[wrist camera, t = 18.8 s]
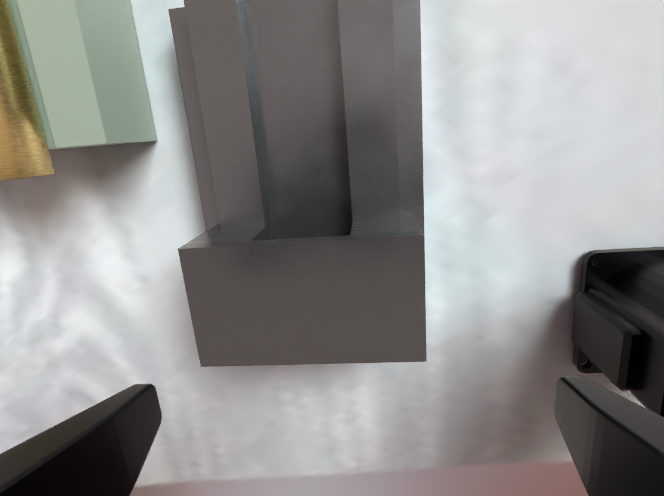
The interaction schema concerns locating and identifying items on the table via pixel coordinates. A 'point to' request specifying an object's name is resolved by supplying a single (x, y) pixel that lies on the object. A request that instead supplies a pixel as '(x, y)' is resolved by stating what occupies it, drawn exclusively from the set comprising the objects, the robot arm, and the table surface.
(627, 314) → the robot arm
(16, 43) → the axle
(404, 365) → the table surface
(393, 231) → the grey slotted block
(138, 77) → the v block
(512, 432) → the table surface
